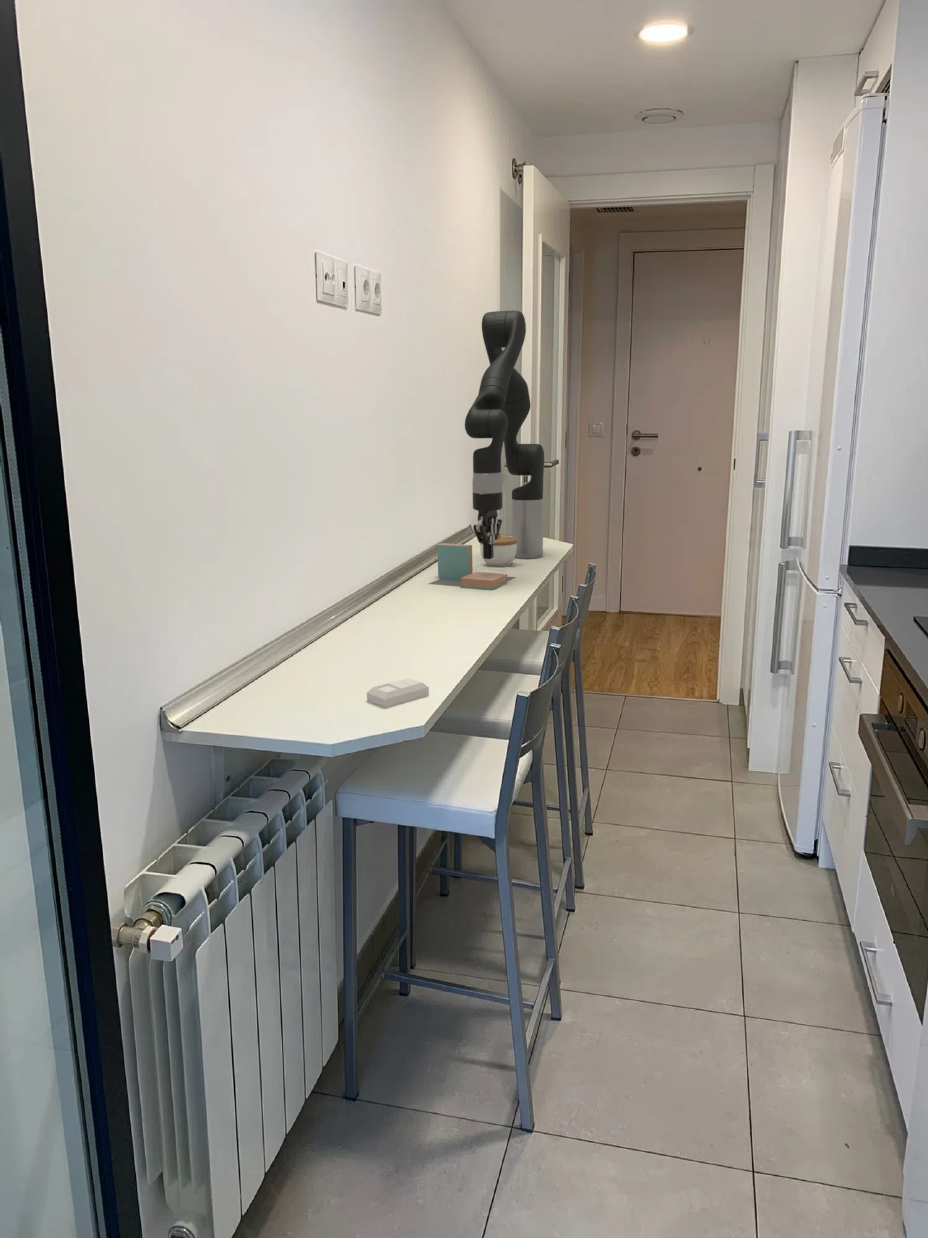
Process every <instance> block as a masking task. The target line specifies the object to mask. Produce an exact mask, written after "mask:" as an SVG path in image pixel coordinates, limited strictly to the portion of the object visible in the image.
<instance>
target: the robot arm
mask: <svg viewBox="0 0 928 1238" xmlns="http://www.w3.org/2000/svg"><path fill="white" fill-rule="evenodd" d="M481 332H482V333H481V334H482V339H483V343H484V346H485V351H486V353H487V358H488V361H489V366H487V368H486V370H485V371H484V373H483V375H482V377H481V380H480V383H479V384H480V385H479V389H478V394H477V397H476V398H475V400H474V401H473V403H472V405H471V407H470V408H469V410H468V412H467V414H466V416H465V420H464V428H465V433H466V434H467V435H468V437H470V438H472V439H491V442H490V444H489V445H488V446H486V447H482V448H478V449H475V450H474V451H473V454H472V473H473V474H472V480H471V481H472V485H471V486H472V509H473V510H474V511H477V512H478V514H477V524H473V526H472V527H473V531H474V533H475V536H476V539H477V541H478V543H479V544H480V543H482V544H483V558H484V559H491V558H493V544H494V543H495V540H497V538H498V535H499V533H500V530H501V528H502V527H501V526H502V523H503V520H502V519H499V517H498V515H499V514H498V511H500V510H502V509H503V478H502V477H503V476H502V451H503V447H504V457H505V464H506V468H507V469H506V470H507V471H508V474H510V475H511V476H519V477H521V476H529V477H530V479H529V481H528V482H526V483H525V484H524V485H521V486H518V487H515V488H513V489H512V491H511V537H515V538H517V552H516V556H515V558H518V559H537V558H541V557H543V556H544V520H543V519H544V472H545V450H544V448H543V446H542V444H540V443H518V441H517V436H518V434H519V432H520V429H521V427H522V425H523V424H524V423H525V420H526V419H527V417H528V415H529V413H530V410H531V405H532V404H531V399H530V392H529V386H528V383H527V381H526V380H525V378H524V377H523V376H522V375H521V373H520V372H519V371H518V370H517V369H516V368H515V366H516V363H517V361H518V358H519V356H520V353H521V351H522V348H523V345H524V343H525V339H526V335H527V334H526V333H527V324H526V318H525V316H524V314H523V312H522V311H520V310H513V309H512V310H499V311H498V310H497V311H489V312H486V313H484V315H483V316H482V319H481ZM503 348H504V349H503ZM483 558H482V559H483Z"/></svg>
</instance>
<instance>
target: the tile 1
mask: <svg viewBox="0 0 928 1238" xmlns="http://www.w3.org/2000/svg"><path fill="white" fill-rule="evenodd" d="M436 548H437V578H438V579H441V578H444V579H458V580H460V578H462V577H464V576H467V575H469V574H472V573H474V572H473V544H464V543H463V544H459V543H444V542H443V543H438V544H437V547H436Z"/></svg>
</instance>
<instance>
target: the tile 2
mask: <svg viewBox="0 0 928 1238" xmlns="http://www.w3.org/2000/svg"><path fill="white" fill-rule="evenodd" d="M507 577H508V574H507V573H498V572H497V573H494V572H482V571H481V572H480V571H474V572H473V573H472V574H469V575H467V576H464V577H462V578H460V586H459V587H460V588H461V589H472V590H473V589H475V590H487V591H494V590H496V589H498V588H500V587H502V586H504V585H506V584H508V581H507Z"/></svg>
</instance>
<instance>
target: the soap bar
mask: <svg viewBox="0 0 928 1238" xmlns="http://www.w3.org/2000/svg"><path fill="white" fill-rule="evenodd" d="M428 696H430V687H429V686H428V685H427V684H425V683H424V682H422V681H419V680H416V679H413V678H409V677H406V678H402V679H399V680H396V681H392V682H387V683H385V684H384V683H383V684H380V685H377V686H373V687H372V688H370V689H368V691H367V692H366V701H367V702H368V703H372V704H374V705H377V706H380V707H381V708H385V709H386V708H390V707H393V706H397V705H400V704H404V703H406V702H407V703H408V702H410V701H413V700H417V699H422V698H425V697H428Z"/></svg>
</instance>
